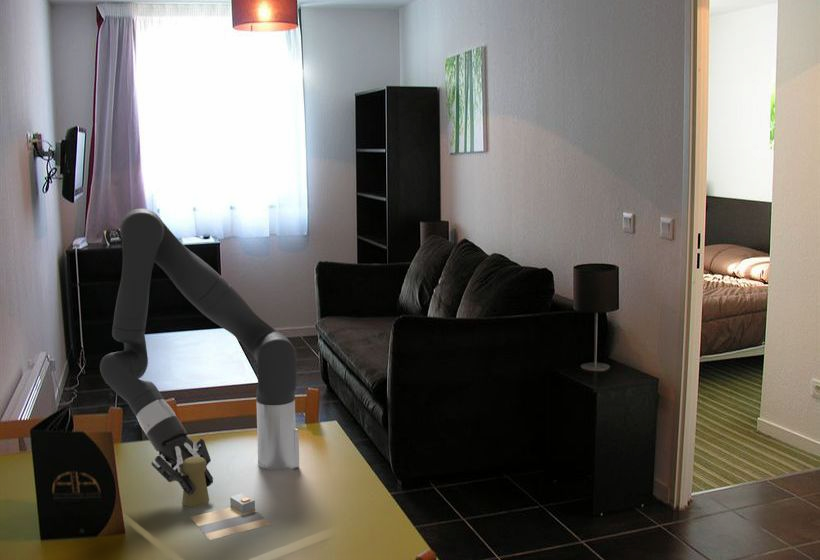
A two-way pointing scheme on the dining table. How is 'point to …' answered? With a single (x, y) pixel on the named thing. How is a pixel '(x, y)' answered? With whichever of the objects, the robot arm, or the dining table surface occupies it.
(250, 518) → the plywood board
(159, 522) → the dining table surface
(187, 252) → the robot arm
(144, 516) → the dining table surface
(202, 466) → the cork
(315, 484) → the dining table surface
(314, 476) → the dining table surface
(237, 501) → the block
